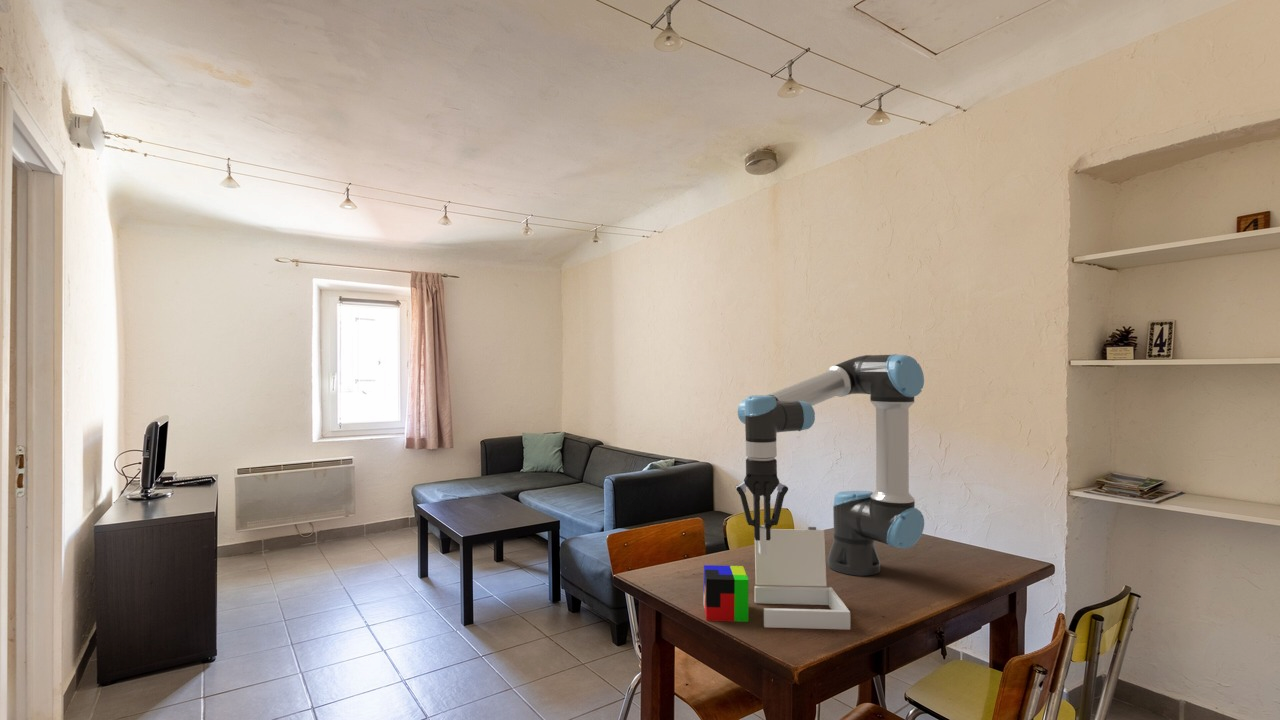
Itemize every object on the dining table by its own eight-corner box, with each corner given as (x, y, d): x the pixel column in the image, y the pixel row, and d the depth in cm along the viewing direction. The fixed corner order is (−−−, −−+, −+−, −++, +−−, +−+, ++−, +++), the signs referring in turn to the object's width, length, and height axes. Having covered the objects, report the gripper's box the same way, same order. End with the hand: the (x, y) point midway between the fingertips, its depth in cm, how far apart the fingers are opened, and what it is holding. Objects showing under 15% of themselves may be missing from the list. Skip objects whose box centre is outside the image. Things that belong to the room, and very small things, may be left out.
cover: (826, 586, 153) (825, 585, 154) (824, 527, 156) (823, 527, 157) (756, 584, 154) (755, 584, 155) (754, 526, 157) (754, 525, 158)
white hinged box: (831, 603, 154) (831, 587, 154) (850, 629, 138) (850, 612, 138) (754, 601, 154) (754, 585, 155) (764, 627, 139) (764, 610, 139)
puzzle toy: (703, 604, 153) (703, 565, 153) (742, 605, 152) (742, 566, 152) (706, 620, 143) (706, 579, 143) (748, 621, 142) (748, 580, 142)
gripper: (784, 455, 151) (785, 548, 151) (732, 455, 151) (734, 548, 151) (790, 460, 143) (792, 558, 143) (736, 460, 144) (737, 558, 144)
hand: (762, 553), depth 147 cm, fingers closed
